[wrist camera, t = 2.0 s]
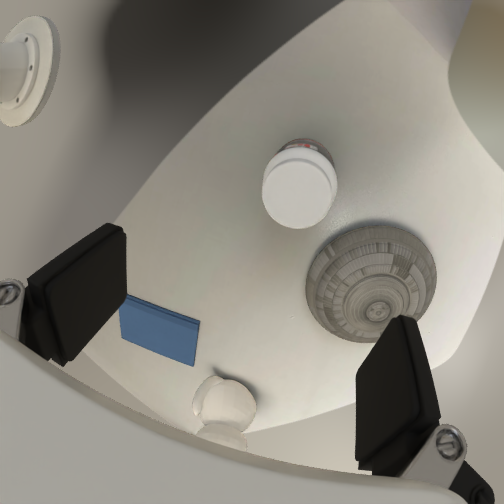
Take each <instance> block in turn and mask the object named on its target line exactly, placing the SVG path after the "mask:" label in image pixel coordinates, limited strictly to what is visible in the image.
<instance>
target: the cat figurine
mask: <svg viewBox="0 0 504 504" xmlns="http://www.w3.org/2000/svg"><path fill="white" fill-rule="evenodd" d="M192 409H193V413H194V414H195V415H199V414H200V418H201V420H202V422H203V424H204V425H205V427H203V428H201V429H200V430H199V431H198V432H197V434H196V435H195V436H197V437H200V438H203V439H205V440H208V441H211V442H214V443H217V444H220V445H224V446H227V447H230V448H233V449H237V450H240V451H244V452H246V449H247V440H246V438H245V436H244V435H243V434H242V433H241V432H243V431H245V430H246V429H247V428H248V427H249V426H250V424H251V423H252V421H253V419H254V417H255V414H256V402H255V400H254V398H253V396H252V394H251V393H250V392H249V391H248V389H247V388H246V387H245V386H243V385H242V384H240V383H239V382H237V381H234V380H224V379H222V378H221V377H218V376H212V377H210V378H207V379H206V380H205V381H204V382H203V383H202V384H201V385H200V387H199V388H198V389H197V391H196V393H195V396H194V399H193V403H192Z"/></svg>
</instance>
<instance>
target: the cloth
mask: <svg viewBox="0 0 504 504" xmlns="http://www.w3.org/2000/svg"><path fill="white" fill-rule="evenodd" d="M119 317H120V327H121V336H122V338H123V339H125V340H127V341H129V342H132V343H134V344H136V345H139V346H141V347H143V348H146V349H148V350H151V351H153V352H155V353H158V354H160V355H163V356H165V357H168V358H171V359H173V360H176V361H178V362H181V363H184V364H186V365H189V366H192V367H193V366H194V361H195V353H196V345H197V338H198V331H199V324H200V321H198V320H195V319H192V318H189V317H186V316H184V315H181V314H178V313H175V312H172V311H170V310H167V309H164V308H162V307H159V306H156V305H154V304H151V303H148V302H146V301H143V300H141V299H138V298H136V297H133V296H131V295H128V294H127V297H126V300H125V302H124V303H123V304H122V305H121V306H120V307H119Z"/></svg>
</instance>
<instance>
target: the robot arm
mask: <svg viewBox="0 0 504 504" xmlns="http://www.w3.org/2000/svg"><path fill="white" fill-rule="evenodd" d="M38 67H39V47H38V43H37V40H36V38H35V37H34V36H33V35H32V34H30V33H20V34H17V35H16V36H14V37H13V38H12V39H11V40H10V41H9V42H8V43H0V106H1V107H2V108H4V109H5V110H13V109H16V108H19V107H20V106H21V105H22V104H23V103H24V102H25V101H26V99H27V98H28V96H29V95H30V93H31V91H32V89H33V86H34V83H35V80H36V77H37V73H38ZM27 281H28V286H27V287H26V288H25V287H24V285H23V283H21V282H20V281H19V280H16V279H5V280H2V281H0V504H494V502H495V499H494V493H493V490H492V488H491V487H490V486H489V484H488V483H487V482H486V481H485V480H484V479H483V478H482V477H481V476H480V475H479V474H478V473H477V472H476V471H475V470H474V469H473V468H472V467H471V466H470V465H469V464H468V463H467V462H466V461H465V460H464V459H465V456H466V453H467V444H466V440H465V438H464V436H463V434H462V433H461V432H460V431H459V429H457V428H456V427H454V426H452V425H449V424H442V425H440V424H439V419H440V418H441V414H440V410H439V405H438V400H437V395H436V391H435V387H434V382H433V378H432V374H431V370H430V366H429V363H428V359H427V355H426V352H425V348H424V345H423V341H422V338H421V335H420V331H419V328H418V325H417V322H416V320H415V319H414V318H411V317H408V316H404V315H398V316H397V317H396V318H395V317H393V318H392V319H391V320H390V322H389V323H388V325H387V327H386V328H385V330H384V331H383V333H382V335H381V336H380V338H379V339H378V341H377V342H376V344H375V345H374V347H373V348H372V350H371V351H370V353H369V354H368V356H367V357H366V359H365V360H364V362H363V363H362V365H361V366H360V368H359V369H358V371H357V374H356V445H355V459H356V461H359V467H358V470H367V471H372V475H363V474H355V473H347V472H339V471H333V470H326V469H320V468H314V467H308V466H302V465H297V464H292V463H287V462H283V461H279V460H274V459H270V458H266V457H262V456H258V455H254V454H251V453H247V452H244V451H240V450H237V449H233V448H230V447H227V446H224V445H220V444H217V443H214V442H211V441H208V440H205V439H203V438H200V437H197V436H194V435H192V434H189V433H186V432H184V431H181V430H178V429H176V428H173V427H171V426H168V425H166V424H164V423H161V422H159V421H156V420H154V419H152V418H150V417H147V416H145V415H143V414H141V413H139V412H137V411H135V410H132V409H131V408H128V407H126V406H124V405H122V404H120V403H118V402H116V401H114V400H113V399H111V398H108V397H107V396H105V395H103V394H101V393H99V392H98V391H96V390H94V389H92V388H90V387H89V386H87V385H85V384H83V383H82V382H80V381H78V380H77V379H75V378H73V377H72V376H70V375H68V374H67V373H65V372H64V371H62V370H60V369H59V368H57V367H56V366H54V365H52V364H51V363H49V362H48V361H49V359H50V358H52V360H53V361H55V362H56V363H58V364H59V365H61V366H62V367H64V366H65V364H66V363H67V362H68V361H72V360H74V359H75V357H76V356H77V355H78V354H79V353H80V352H81V350H82V349H83V348H84V347H85V346H86V345H87V343H88V342H89V341H90V340H91V339H92V338H93V337H94V335H95V334H96V333H97V332H98V331H99V330H100V329H101V327H102V326H103V325H104V324H105V323H106V322H107V321H108V320H109V318H110V317H111V316H112V315H113V314H114V313H115V312H116V311H117V310H118V308H119V307H120V306H121V305H122V304H123V303H124V302H125V300H126V297H127V275H126V233H124V231H123V228H122V227H119V226H116V225H114V224H111V223H106V224H104V225H103V226H101V227H100V228H98V229H96V230H95V231H94V232H92V233H90V234H89V235H87V236H86V237H84V238H83V239H81V240H80V241H78V242H77V243H76V244H74V245H73V246H71V247H70V248H68V249H67V250H65V251H64V252H63V253H61V254H60V255H58V256H57V257H55V258H54V259H53V260H51V261H50V262H49V263H47V264H46V265H45V266H43V267H42V268H40V269H39V270H38V271H36V272H35V273H34V274H32V275H31V276H30V277H29V278H27Z"/></svg>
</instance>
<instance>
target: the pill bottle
mask: <svg viewBox="0 0 504 504" xmlns="http://www.w3.org/2000/svg"><path fill="white" fill-rule="evenodd" d="M337 187H338V181H337V175H336V171H335V168H334V163H333V160H332V157H331V155H330V154H329V152H328V151H327V150H326V148H325V147H323V146H322V145H321V144H319V143H318V142H316V141H313V140H310V139H296V140H293V141H291V142H288V143H287V144H285V145H284V146H283V147H282V148H281V149H280V150H279V151H278V152H277V153H276V154H275V156H274V157H273V158H272V159H271V160H270V162H269V163H268V165H267V167H266V169H265V171H264V175H263V188H262V200H263V204H264V207H265V209H266V211H267V212H268V214H269V215H270V216H271V217H272V218H273V219H274V220H275V221H276V222H278V223H279V224H281V225H283V226H285V227H289V228H294V229H303V228H308V227H311V226H313V225H315V224H317V223H318V222H320V221H321V220H322V219H323V218H324V217H325V216H326V214H327V213H328V211H329V209H330V206H331V205H332V203H333V201H334V199H335V197H336V194H337Z"/></svg>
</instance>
